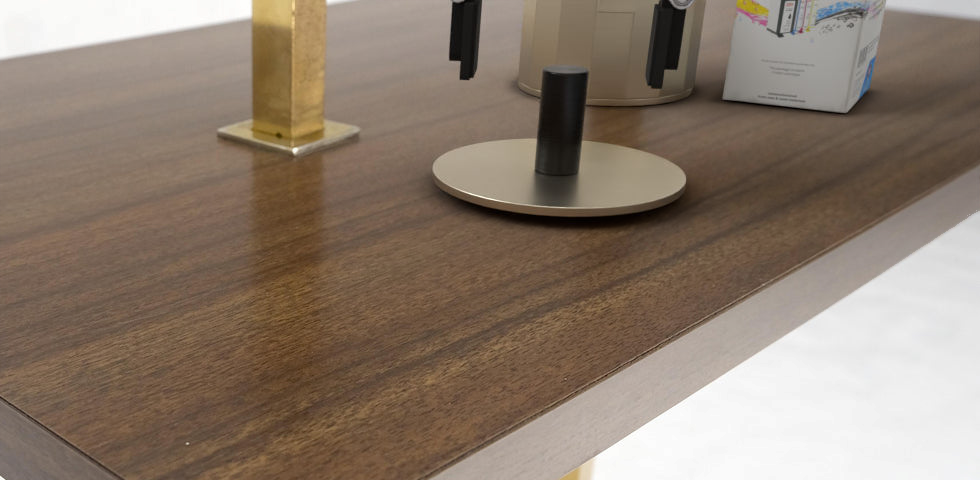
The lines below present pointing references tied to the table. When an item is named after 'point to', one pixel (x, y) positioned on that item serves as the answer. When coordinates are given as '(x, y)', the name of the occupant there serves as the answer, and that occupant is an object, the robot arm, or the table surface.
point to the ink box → (803, 52)
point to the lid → (559, 164)
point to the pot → (605, 48)
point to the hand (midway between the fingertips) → (559, 79)
